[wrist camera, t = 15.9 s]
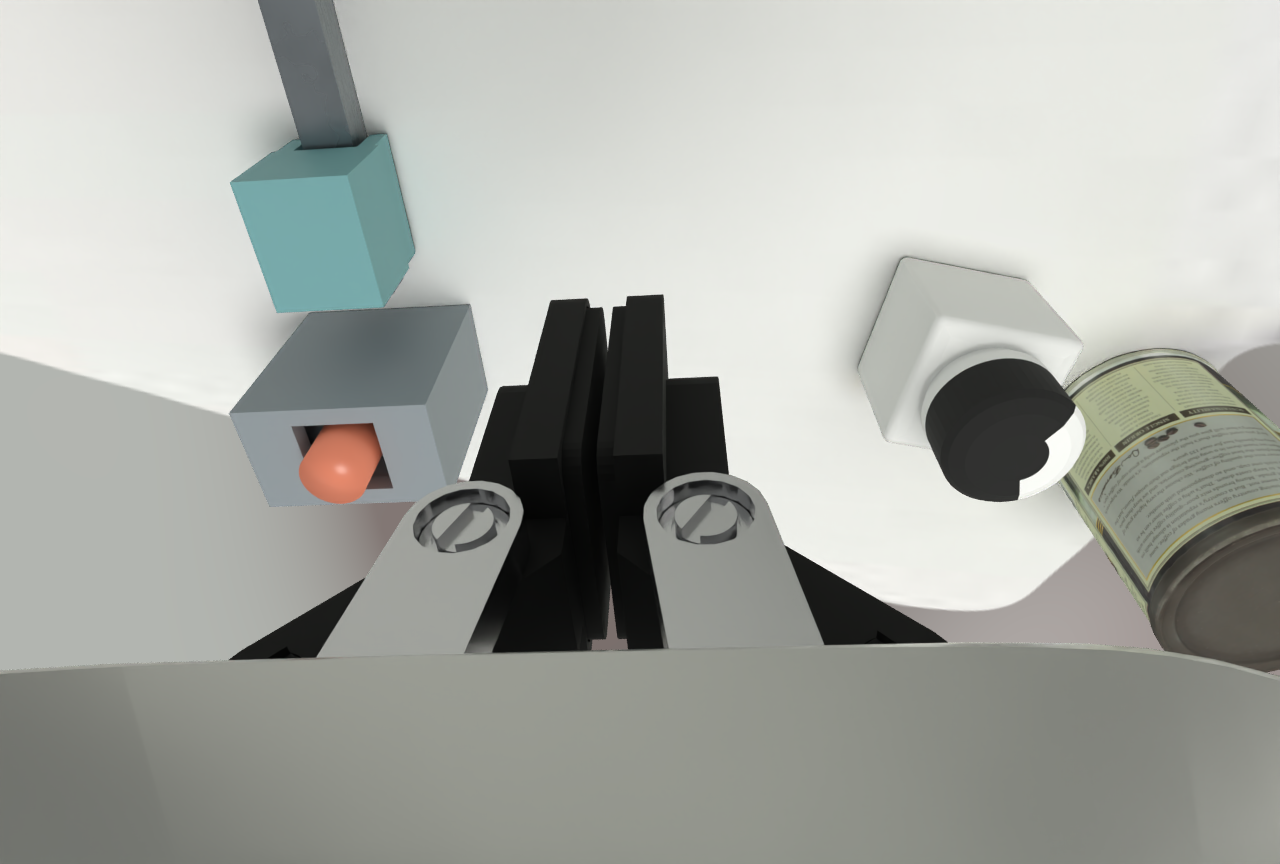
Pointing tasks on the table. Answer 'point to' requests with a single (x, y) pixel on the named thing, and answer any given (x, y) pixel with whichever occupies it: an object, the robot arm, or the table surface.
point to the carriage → (327, 225)
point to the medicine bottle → (975, 379)
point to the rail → (315, 72)
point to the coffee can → (1184, 501)
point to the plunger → (341, 462)
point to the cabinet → (368, 399)
